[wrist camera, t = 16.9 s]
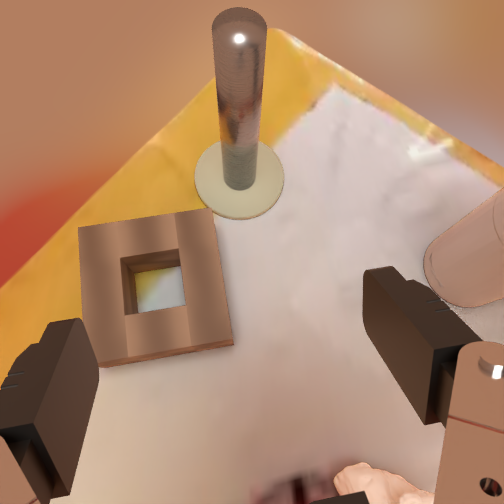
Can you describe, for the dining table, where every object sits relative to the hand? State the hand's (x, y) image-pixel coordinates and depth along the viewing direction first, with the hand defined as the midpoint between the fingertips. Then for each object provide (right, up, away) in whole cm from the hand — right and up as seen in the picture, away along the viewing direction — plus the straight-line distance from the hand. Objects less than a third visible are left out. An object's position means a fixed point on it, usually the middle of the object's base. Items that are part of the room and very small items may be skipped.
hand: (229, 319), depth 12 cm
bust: (+14, -23, +30) cm, 40 cm away
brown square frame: (-10, -3, +35) cm, 37 cm away
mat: (-1, +11, +40) cm, 42 cm away
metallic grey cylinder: (-1, +11, +39) cm, 41 cm away
